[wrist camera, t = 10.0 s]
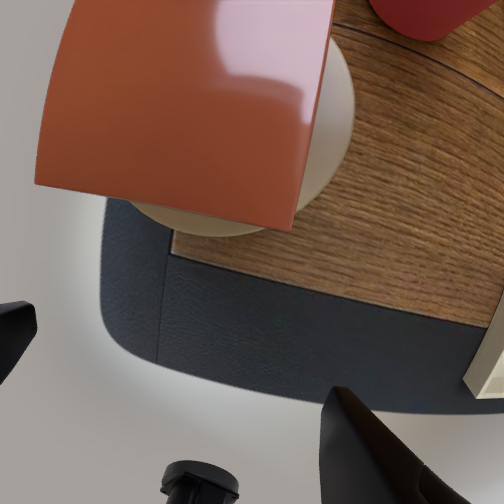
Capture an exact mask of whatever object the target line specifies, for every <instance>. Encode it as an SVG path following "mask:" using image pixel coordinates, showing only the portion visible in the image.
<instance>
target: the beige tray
mask: <svg viewBox="0 0 504 504" xmlns="http://www.w3.org/2000/svg"><path fill="white" fill-rule="evenodd" d="M463 380H464V382H465V383H466V385H467V386H468V388H469V389H470V390H471V392H472V393H473V395H474V396H475V398H476V399H480V398H481V399H482V398H502V397H504V291H503V294H502V297H501V299H500V302H499V304H498V307H497V309H496V312H495V314H494V316H493V319H492V321H491V323H490V326H489V328H488V330H487V332H486V334H485V336H484V339H483V341H482V343H481V345H480V347H479V349H478V351H477V353H476V355H475V357H474V359H473V361H472V362H471V364H470V366H469V368H468V370H467V372H466V374H465V375H464V377H463Z"/></svg>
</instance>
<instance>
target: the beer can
mask: <svg viewBox="0 0 504 504" xmlns="http://www.w3.org/2000/svg"><path fill="white" fill-rule="evenodd" d="M496 1H498V0H369V2H370V4H371V6H372V7H373V9H374V10H375V12H376V14H377V15H378V16H379V17H380V18H381V19H382V20H383V21H384V22H385V23H386V24H387V25H388V26H390V27H391V28H393V29H394V30H396V31H397V32H399V33H400V34H402V35H405V36H407V37H410V38H412V39H415V40H422V41H428V42H429V41H435V40H440V39H442V38H443V37H444V36H446V35H447V34H449V33H450V32H452V31H453V30H454V29H456V28H457V27H459V26H460V25H462V24H463V23H465V22H466V21H468V20H469V19H471V18H472V17H474V16H475V15H477V14H478V13H480V12H481V11H483V10H484V9H486V8H487V7H489V6H490V5H492V4H493V3H495V2H496Z"/></svg>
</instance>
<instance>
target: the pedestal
mask: <svg viewBox="0 0 504 504" xmlns="http://www.w3.org/2000/svg"><path fill="white" fill-rule="evenodd" d="M354 120H355V94H354V87H353V81H352V78H351V74H350V71H349V68H348V65H347V63H346V61H345V59H344V56H343V54H342V52H341V50H340V49H339V47H338V46H337V44H336V43H335V41H334V40H333V38H332V37H331V36H330V42H329V47H328V53H327V59H326V64H325V70H324V75H323V81H322V86H321V92H320V97H319V102H318V107H317V112H316V118H315V123H314V128H313V133H312V138H311V143H310V147H309V152H308V157H307V162H306V167H305V171H304V176H303V181H302V185H301V190H300V195H299V199H298V204H297V208H296V213H297V212H298V211H300V210H301V209H303V208H304V207H305V206H306V205H308V204H309V203H310V202H311V201H312V200H313V199H314V198H315V197H317V196H318V195H319V194H320V192H321V191H322V190H323V189H324V188H325V187H326V185H327V184H328V183H329V182H330V181H331V179H332V178H333V176H334V174H335V173H336V171H337V170H338V168H339V167H340V165H341V163H342V161H343V158H344V156H345V154H346V152H347V150H348V147H349V143H350V140H351V137H352V133H353V127H354ZM130 202H131V203H132V204H133V205H134V206H135V207H137V208H138V209H139V210H140V211H141V212H143V213H144V214H146V215H147V216H149V217H150V218H152V219H153V220H155V221H157V222H159V223H161V224H163V225H165V226H167V227H170V228H172V229H175V230H178V231H182V232H185V233H189V234H194V235H200V236H212V237H226V236H238V235H243V234H248V233H252V232H257V231H259V230H262V229H265V228H264V227H259V226H254V225H249V224H244V223H240V222H235V221H230V220H225V219H220V218H215V217H210V216H205V215H200V214H195V213H190V212H185V211H180V210H174V209H169V208H164V207H159V206H153V205H148V204H143V203H137V202H132V201H130Z"/></svg>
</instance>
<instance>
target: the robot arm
mask: <svg viewBox="0 0 504 504" xmlns="http://www.w3.org/2000/svg"><path fill="white" fill-rule="evenodd" d="M36 333H37V321H36V313H35V308H34V306H33V305H32V304H30V303H28V302H26V301H18V302H11V303H6V304H0V385H1V384H2V382H3V381H4V380H5V379H6V377H7V376H8V375H9V373H10V372H11V371H12V369H13V368H14V367H15V365H16V364H17V362H18V361H19V359H20V358H21V356H22V355H23V353H24V351H25V350H26V348H27V347H28V345H29V344H30V342H31V341H32V339H33V338H34V337H35V335H36ZM319 470H320V485H321V502H322V504H471V503H470V502H468V501H467V500H466V499H464V498H463V497H462V496H460V495H459V494H458V493H456V492H455V491H454V490H453V489H452V488H450V487H449V486H448V485H447V484H445V483H444V482H443V481H442V480H441V479H440V478H439V477H438V476H437V475H436V474H435V473H433V472H432V471H431V470H430V469H429V468H428V467H427V466H426V465H424V463H423V462H422V461H421V460H420V459H419V458H418V457H417V456H416V455H415V454H414V453H413V452H412V451H411V450H410V449H409V448H407V446H406V445H405V444H404V443H403V442H402V441H401V440H400V439H399V438H397V436H396V435H394V434H393V433H392V432H391V431H390V430H389V429H388V428H387V427H386V426H385V425H384V424H383V423H382V422H381V421H380V420H379V419H378V418H377V417H376V416H375V415H374V414H373V413H372V412H371V411H370V410H369V409H368V407H367V406H366V405H365V404H364V403H363V402H362V401H361V400H360V399H359V398H358V397H357V396H356V395H355V394H354V393H353V392H352V391H351V390H350V389H349V388H347V387H340V386H334V387H332V388H331V390H330V392H329V395H328V397H327V399H326V401H325V403H324V406H323V408H322V412H321V430H320V449H319ZM160 491H161V492H162V493H164V494H166V495H168V496H169V497H168V500H167V503H166V504H229V503H231V502H233V501H235V500H237V499H239V494H238V493H236V492H233V491H230V490H228V489H226V488H223V487H221V486H218V485H216V484H214V483H211V482H209V481H207V480H205V479H202V478H200V477H198V476H196V475H194V474H192V473H190V472H186V471H185V472H182V473H181V474H179V475H178V476H177V477H175V478H174V479H172V480H171V481H170V482H168V483H167V484H165V485H164V486H162V487H161V489H160Z"/></svg>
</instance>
